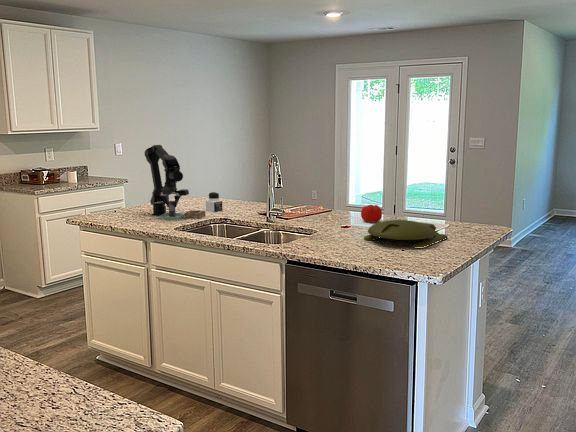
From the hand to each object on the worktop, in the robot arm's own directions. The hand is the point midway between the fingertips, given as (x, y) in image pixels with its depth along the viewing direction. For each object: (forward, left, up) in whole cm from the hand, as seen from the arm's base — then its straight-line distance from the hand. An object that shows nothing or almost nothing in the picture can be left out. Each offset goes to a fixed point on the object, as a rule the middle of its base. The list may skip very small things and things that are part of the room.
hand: (171, 207), depth 320 cm
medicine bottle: (+17, +25, -7) cm, 31 cm away
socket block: (+13, +3, -7) cm, 15 cm away
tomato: (+111, +10, -7) cm, 112 cm away
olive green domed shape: (+127, -33, -8) cm, 131 cm away
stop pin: (0, 0, -6) cm, 6 cm away
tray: (0, 0, -7) cm, 7 cm away
